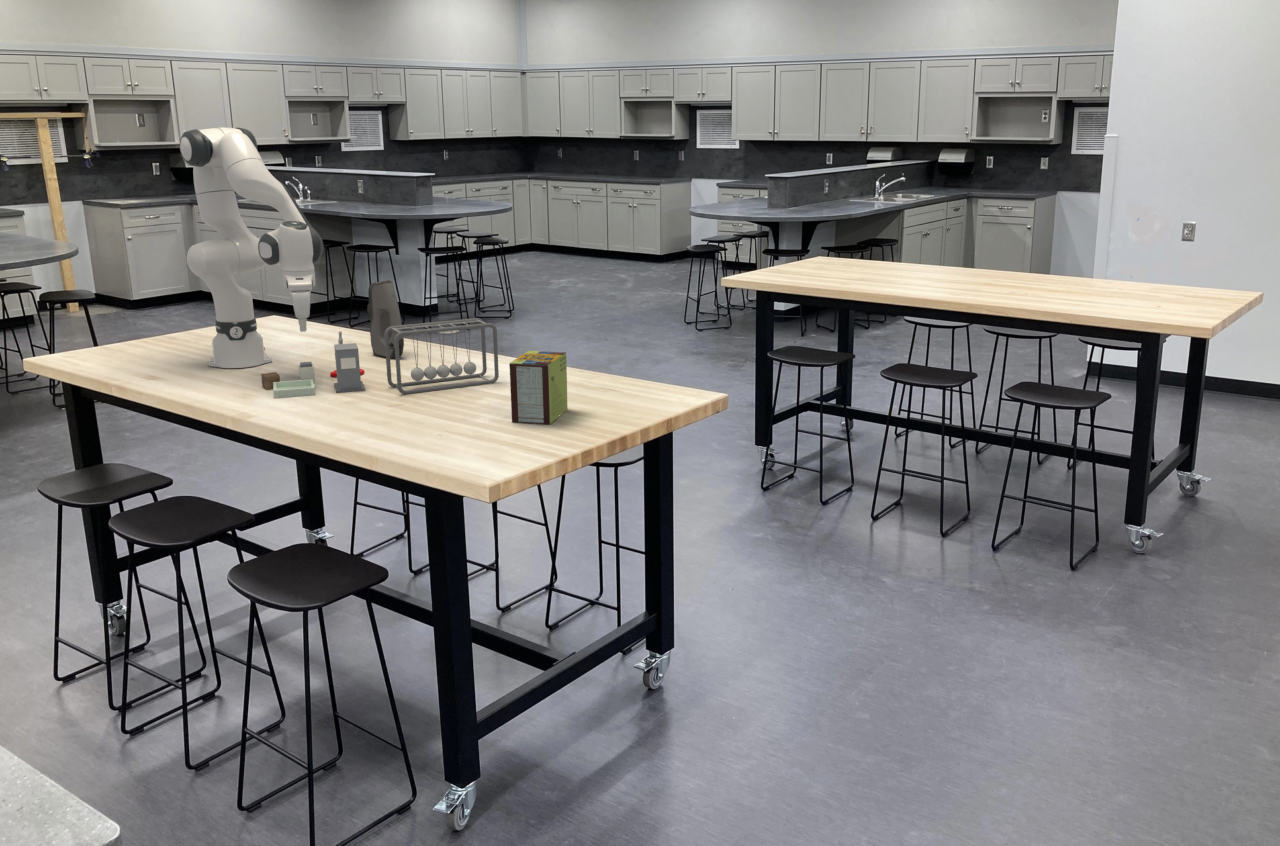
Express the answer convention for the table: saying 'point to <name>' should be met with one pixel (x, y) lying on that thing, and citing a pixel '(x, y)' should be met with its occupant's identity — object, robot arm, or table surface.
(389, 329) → the newton's cradle
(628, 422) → the table surface
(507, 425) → the table surface
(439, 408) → the table surface
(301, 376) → the block
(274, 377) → the walnut block
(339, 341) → the tow hook
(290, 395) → the tray
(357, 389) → the control box
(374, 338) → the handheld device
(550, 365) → the protein box
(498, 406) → the table surface
